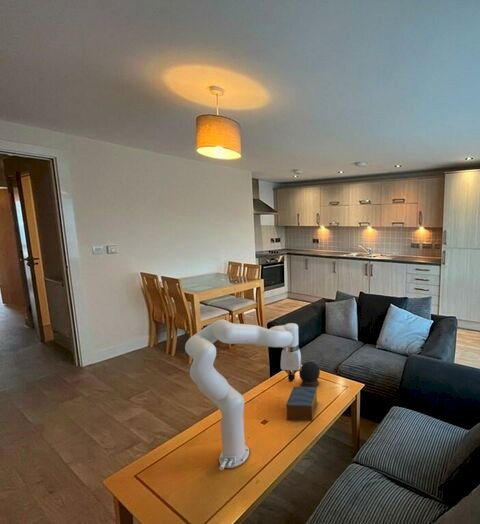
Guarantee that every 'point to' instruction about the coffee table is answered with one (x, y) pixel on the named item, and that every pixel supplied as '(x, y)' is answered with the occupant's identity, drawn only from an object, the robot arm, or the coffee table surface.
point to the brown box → (302, 411)
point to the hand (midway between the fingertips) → (291, 380)
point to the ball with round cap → (309, 374)
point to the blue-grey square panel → (301, 396)
